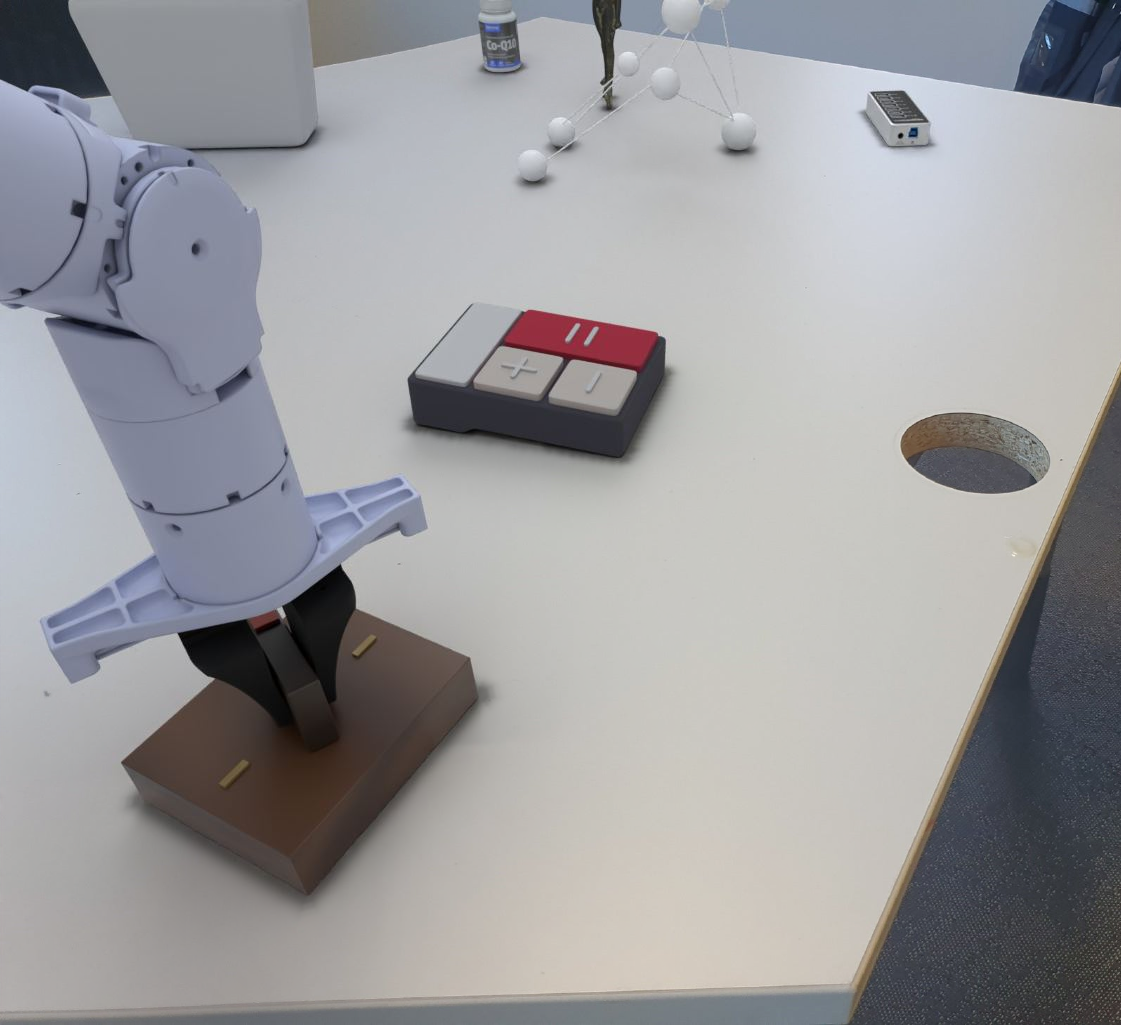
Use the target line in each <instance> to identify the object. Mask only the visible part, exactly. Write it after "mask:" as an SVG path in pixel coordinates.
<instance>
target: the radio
mask: <svg viewBox="0 0 1121 1025" xmlns="http://www.w3.org/2000/svg"><path fill="white" fill-rule="evenodd" d="M68 11H69V15H70V17H71V19H72V21H73V23H74V25H75V27H76V29H77V31H78V33H79V35H80V37H81V40H82V41H83V42H84V44H85V47H86V49H87V50H88V53H89V55H90V57H91V58H92V61H93V63H94V64H95V66H96V68H97V70H98V72H99V74H100V76H101V78H102V80H103V82H104V84H105V86H106V88H107V90H108V92H109V93H110V96H111V97H112V99H113V101H114V104H115V106H116V107H117V109H118V111H119V113H120V115H121V118H122V119H123V121H124V123H125V125H126V128H127V129H128V131H129V133H130V135H131V137H132V140H138V141H144V142H150V143H157V144H163V145H169V146H175V147H180V148H183V149H186V150H190V149H193V150H194V149H195V150H196V149H233V148H234V149H237V148H240V149H241V148H280V147H283V148H284V147H286V148H287V147H299V146H302V145H303V144H304V145H305V143H306V142H307V141H309V139H310V137H311V135H312V134H313V132H314V130H315V129H316V127H317V126H318V124H319V112H318V102H317V89H316V80H315V78H316V77H315V70H314V69H315V68H314V67H315V66H314V56H313V49H312V47H313V46H312V36H311V24H310V13H309V3H308V0H68Z"/></svg>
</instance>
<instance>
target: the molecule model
mask: <svg viewBox="0 0 1121 1025" xmlns="http://www.w3.org/2000/svg"><path fill="white" fill-rule="evenodd" d="M702 2H703V4H702V5H701V2H700V0H663V3H662V5H661V10H660V11H661V13H660V14H661V19H662V22H663V24H664V25H665V27H666V28H664V30H662V32H661V33H660V34H659V35H658V36H657V37H656V38H655V39H654V40H653V41H651V43H649V44H648V45H647V46H646V47H644V49H643V50H641V52H639V53H638V54H637V55H636V54H635V53H634V52H631V51H624V52H622V53H620V55H619V56H618V57H617V60H616V68H617V70H618V72H617V73H616V74H615V75H613V76H614V77H613V78H612V79H611V80H610V81H609V82H608V83H606V84H605V85H602V87H601V88H600V89H599V90H598V91H596V92H595V93H594V94H593V95H592V96H591V97H590V98H588V100H586V101H585V102H584V103H583V104H582V105H581V106H579V108H578V109H577V110H575V111H574V112H573V113H572V114H571V115H570V116H569V117H568V118H566V117H561V116H559V117H555V118H553V119H552V120H551V121H550V122H549V124H548V125H547V128H546V129H547V130H546V135H547V137H548V140H549V141H550V143H551V144H553V145H554V146H556V147H559V148H560V149H559V150H558V151H556V152H555V153H553V154H552V155H551V156H549V157H548V158H547V159H546V157H545V156H544V155H543V153H541V152H540V151H538V150H536V149H528V150H525V151H523V152H522V153H521V154H520V155H519V157H518V159H517V164H516V167H517V171H518V173H519V175H520V176H521V177H522V178H523V179H524V180H526V181H529V182H538V181H540V180H541V179H543V178H544V177H545V175H547V174H546V173H547V171H548V162H549V160H551V159H552V158H553V157H555V156H556V155H557V154H559V153H560V152H562V151H563V150H564V149H566V148H567V147H569V146H570V145H571V144H573V143H574V142H576V141H577V140H579V139H580V138H581V137H583V136H584V135H586V133H588V132H589V131H591V130H592V129H594V128H595V127H596V126H598V125H599V124H600V123H602V122H604V121H605V120H606V119H607V118H609V117H610V116H612V115H613V114H615V113H616V112H617V111H618V110H620V109H621V108H623V107H624V106H625V105H627V104H629V102H631V101H632V100H634V99H635V98H636V97H638V96H639V95H640V94H642V93H643V92H645V91H646V90H648V89H649V88H650V90H651V93H652V94H653V95H654V97H656V99H658V100H661V101H670V100H673V99H674V98H675V97H676V96H679V97H681V98H683V99H686V100H688V101H690V102H691V103H694V104H697V105H699V106H701V107H703V108H705V109H707V110H710V111H712V112H714V113H716V114H718V115H720V116H722V117H723V118H724V117H725V119H724V121H723V122H722V125H721V128H720V134H721V139H722V142H723V143H724V144H725V145H726V147H728V149H730V150H733V151H743V150H745V149H748V148H749V147H750V146H751V145H752V144H753V143H754V142H755V139H756V136H757V127H756V124H755V121H754V120H753V118H752V117H751V116H749V114H746V113H743V112H741V108H740V102H739V98H738V97H739V96H738V91H737V85H736V79H735V72H734V67H733V61H732V56H731V50H730V45H729V39H728V34H727V28H726V22H725V17H724V16H725V15H724V12H723V9H725V8H726V7H727V6H728V5H729V4H730V3H731V0H702ZM704 7H707V8H708V9H710V10H712V11H720V13H721V18H722V24H723V29H724V30H723V31H724V35H725V40H726V47H727V53H728V58H729V59H728V60H729V64H730V70H731V74H732V80H733V86H734V92H735V97H736V103H737V109H738V112H734V113H732V111H731V109H730V107H729V105H728V103H727V101H726V99H725V96H724V94H723V92H722V91H721V89H720V87H719V85H718V83H717V80H716V78H715V77H714V74H713V72H712V70H711V68H710V65H709V64H708V62H707V60H706V58H705V55H704V53H703V52H702V50H701V48H700V45H699V43H698V41H697V39H696V37H695V36H694V33H693V31H694V30H695V29H696V28H697V26H698V25H699V24H700V22H701V18H702V12H703V10H704ZM668 31H670V32H671V33H673V34H677V35H685V37H684V39H683V41H682V42H681V45H680V46H679V48H678V50H677V52H676V54H675V55H674V56H673V58H672V61H671V63H670V64H669V66H661V67H659V68H657V69H656V70H654V72H653V73H652V75H651V77H650V81H649V84H648V85H647V86H646V87H645V88H643V89H642V90H640V91H639V92H637V93H636V94H635V95H634V96H632V97H631V98H629V99H628V100H627V101H625V102H624V103H623V104H621V105H620V106H618V107H617V108H616V109H614V110H613V111H611V112H610V113H609V114H607V115H606V116H605V117H603V118H602V119H600V120H599V121H597V122H596V123H595V124H593V125H591V127H589V128H588V129H587V130H585V131H584V132H583V133H581V134H579V135H578V136H577V137H575V136H576V129H575V126H576V125H577V124H578V122H579V121H580V120H582V118H583V117H584V116H585V115H587V113H588V112H589V111H590V110H592V108H593V107H594V106H595V105H596V104H597V103H598V102H599V101H600V100H601V99H602V98H603V97H602V96H603V95H604V94H605V93H606V92H607V91H608V90H609V89H610V88H611V87H612V88H613V86H614V85H615V84H617V82H618V81H619V80H620V79H621V78H622V77H623V76H624V77H626V78H627V77H633V76H634V75H636V74H637V73H638V72H639V69H640V64H641V63H640V59H641V57H642V56H643V55H644V54H645V53H646V52H647V51H648V50H649V49H650V48H651V47H652V46H653V45H654V44H655V43H656V42H657V41H658V40H659V39H660V38H661V37H662V36H663V35H664V34H665V33H667V32H668ZM690 35H691V37H692V39H693V42H694V43H695V45H696V47H697V49H698V51H699V53H700V56H701V57H702V59H703V61H704V64H705V65H706V67H707V69H708V72H709V74H710V76H711V78H712V80H713V82H714V83H715V86H716V89H717V90H718V92H719V94H720V96H721V98H722V101H723V103H724V105H725V106H726V109H727V110H728V112H729V114H730V115H726V114H724V113H721V112H719V111H717V110H715V109H713V108H710V107H708V106H706V105H704V104H702V103H700V102H698V101H696V100H693V99H691V98H690V97H687V96H685V95H682V94H681V93H679V92H680V91H681V86H682V82H681V77H680V75H679V74H678V72H677V71H676V70H675V69H673V68H671V67H672V66H673V64H674V62H675V61H676V59H677V57H678V55H679V53H680V51H681V49H682V47H683V46H684V44H685V42H686V40H687V39H688V37H689V36H690ZM617 77H618V78H617ZM614 79H615V80H614ZM612 80H613V84H612V85H611V86H610V87H609V88H608V89H607V90H606V91H605V92H604V93H603V92H602V90H604V87H605V86H607V85H608V84H609V83H610V82H611V81H612ZM600 92H602V94H601V95H600V96H599V97H598V98H597V99H596V100H595V101H594V102H593V103H592V104H591V105H590V107H588V109H586V110H585V111H584V112H583V114H582V115H581V116H580V117H579V118H578V119H577V120H576V121H575V122H574V123H573V122H572V121H571V120H570V119H571V118H573V117H574V116H575V115H576V114H577V113H578V112H579V111H580V110H581V109H583V108H584V107H585V106H586V105H587V104H588V103H589V102H590V101H591V100H593V98H595V97H596V96H597V95H598V94H599V93H600Z"/></svg>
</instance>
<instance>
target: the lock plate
mask: <svg viewBox="0 0 1121 1025" xmlns="http://www.w3.org/2000/svg"><path fill="white" fill-rule="evenodd" d="M282 619H283V620H284V622H285V624H286V625H287V627H288V629H289V630H290V627H289V623H288V621H287V618H286V615H284V617H282ZM290 632H291V630H290ZM336 695H337V699H336V701H334V702H332V703H330V704H328V705H329V708H330V710H331V713H332V716H333V719H334V721H335V724H336V727H337V729H338V732H339V735H340V738H339V739H337V740H335V741H333V742H331V743H329V744H327V745H325V746H323V747H321V748H319V749H317V750H316V751H314V752H310V751H309V750H308V748H307V746H306V744H305V742H304V740H303V739H302V737H301V735H300V733H299V731H298V730H297V728H296V726H295V724H294V722H292V723H290V724H288V725H286V726H284V727H282V728H279V727H278V726H277V724H276V723H275V721H274V719H273V718H272V717H271V716H270V715H269V713H268V712H267V711H266V710H265V709H264V708H263V707H261V706H260V705H259V704H258V703H257V702H256V701H255V700H253V699H252V698H251V697H249V696H248V695H247V694H245V693H244V692H242V691H240V690H239V689H237V688H235V687H234V686H232V685H229V684H227V683H225V682H223V681H220V680H218V679H215V678H213V680H212V681H210V682H209V683H208V684H207V685H206V686H205V687H204V688H203V689H201V690H200V691H199V693H197V694H196V695H195V696H193V697H192V698H191V699H190V700H189V701H188V702H187V703H186V704H184V705H183V706H182V707H181V708H180V709H179V710H177V712H175V714H173V715H172V716H171V717H170V718H168V720H166V721H165V722H164V723H163V724H162V725H161V726H160V727H159V728H158V729H156V730H155V731H154V732H153V733H152V734H150V735H149V736H148V737H147V738H146V739H144V741H143V742H141V744H139V745H138V746H137V747H136V748H134V750H133V751H131V752H130V753H129V754H128V755H127V756H126V757H125V758H123V759H122V760H121V762H120V764H121V766H122V767H123V769H124V770H125V772H126V774H127V775H128V777H129V779H130V781H132V784H133V785H134V786H135V788H136V790H137V791H138V793H139V795H140V796H141V797H142V798H141V799H143V801H144V802H146V803H147V804H149V805H151V806H152V807H154V808H156V809H157V810H160V811H161V812H162V813H165V814H166V815H168V816H170V817H171V818H173V819H175V820H176V821H178V822H180V823H182V824H183V825H185V826H187V827H189V828H190V829H192V830H193V831H196V832H197V833H199V834H201V835H202V836H204V837H206V838H208V839H210V840H212V842H215V843H216V844H218V845H220V846H222V848H225V849H227V850H229V851H230V852H231V853H234V854H235V855H237V856H238V857H241V858H242V859H244V860H246V861H248V862H249V863H251V864H253V865H255V866H256V867H258V868H260V869H261V870H263V871H265V872H266V873H268V874H270V875H272V876H273V877H275V878H277V879H278V880H280V881H282V882H284V883H285V884H287V885H289V886H291V887H293V888H294V889H296V890H298V891H300V892H301V893H303V894H305V895H306V896H310V894H311V893H312V892H313V891H314V890H315V889H316V887H317V886H318V885H319V884H320V883H321V881H322V880H323V879H324V878H325V877H326V876H327V874H328V873H329V872H330V871H331V870H332V868H334V866H335V865H336V864H337V863H338V862H339V860H340V859H341V858H342V857H343V856H344V855H345V853H346V852H347V851H348V850H349V849H350V848H351V847H352V845H353V844H354V843H355V842H356V841H357V839H359V837H360V836H361V835H362V833H363V832H365V830H366V829H367V828H368V827H369V826H370V824H371V823H372V822H373V821H374V820H375V818H376V817H377V816H378V815H379V814H380V812H382V810H383V809H384V808H385V807H386V806H387V804H388V803H389V802H390V801H391V800H392V798H393V797H394V796H395V795H396V794H397V793H398V791H400V789H401V788H402V787H403V786H404V784H405V783H406V782H407V781H408V780H409V779H410V778H411V777H412V775H414V773H415V772H416V771H417V769H418V768H419V767H420V766H421V765H422V764H423V762H424V761H425V760H426V759H427V758H428V757H429V755H430V754H431V753H432V752H433V751H434V749H435V748H436V747H437V746H438V745H440V744H439V743H440V742H442V740H443V739H444V738H445V737H446V735H447V734H448V733H449V732H450V731H451V730H452V729H453V727H454V726H455V725H456V724H457V723H458V721H459V720H460V719H461V718H462V717H463V715H465V713H466V712H467V711H468V710H469V709H470V708H471V706H473V704H475V702H476V701H477V699H479V692H478V687H477V684H476V678H475V674H474V670H473V665H472V659H471V657H470V656H467V655H465V654H463V653H460V652H459V651H455V650H453V649H451V648H449V647H446V646H444V645H442V644H440V643H438V642H435V641H432V640H430V639H428V638H426V637H423V636H421V635H419V634H416V633H414V632H412V631H409V630H407V629H405V628H403V627H400V626H398V625H395V624H394V623H392V622H388V621H387V620H385V619H382V618H380V617H377V616H376V615H375V616H374V615H373V614H370V613H368V612H366V611H363V610H361V609H359V608H356V609H355V611H354V612H353V614H352V616H351V617H350V619H349V622H348V624H347V626H346V628H345V631H344V634H343V637H342V640H341V644H340V648H339V653H338V660H337V668H336Z"/></svg>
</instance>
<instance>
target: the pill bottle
mask: <svg viewBox="0 0 1121 1025" xmlns="http://www.w3.org/2000/svg"><path fill="white" fill-rule="evenodd" d="M478 3H479V4H478V5H479V9H480V10H481V11H480V13H479V14H478V17H477V21H478V28H479V35H480V36H479V37H480V44H481V53H482V61H483V67H484V69H485V70H487V71H489V72H493V73H508V72H514V71H517V70H519V68H520V67H521V65H522V61H521V51H520V40H519V31H518V20H517V14H516V13H515V11H513V10H512V9H513V0H478Z"/></svg>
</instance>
